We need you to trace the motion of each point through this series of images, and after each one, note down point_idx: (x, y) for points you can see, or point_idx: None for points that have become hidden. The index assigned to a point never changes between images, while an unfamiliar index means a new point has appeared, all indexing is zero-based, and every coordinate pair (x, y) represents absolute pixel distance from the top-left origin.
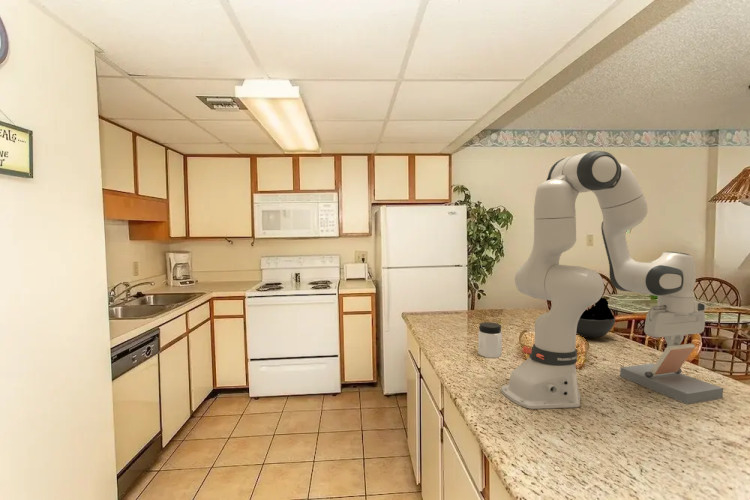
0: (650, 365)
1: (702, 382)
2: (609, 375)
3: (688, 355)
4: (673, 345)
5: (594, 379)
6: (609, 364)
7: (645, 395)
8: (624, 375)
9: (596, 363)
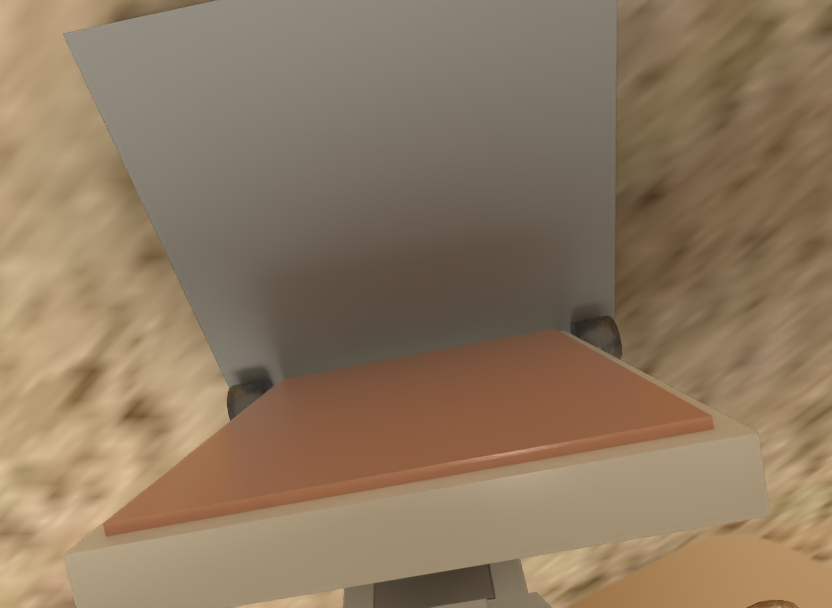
0: None
1: (183, 194)
2: None
3: (204, 450)
4: (515, 572)
5: (807, 403)
6: None
7: (744, 141)
8: None
9: (554, 587)
